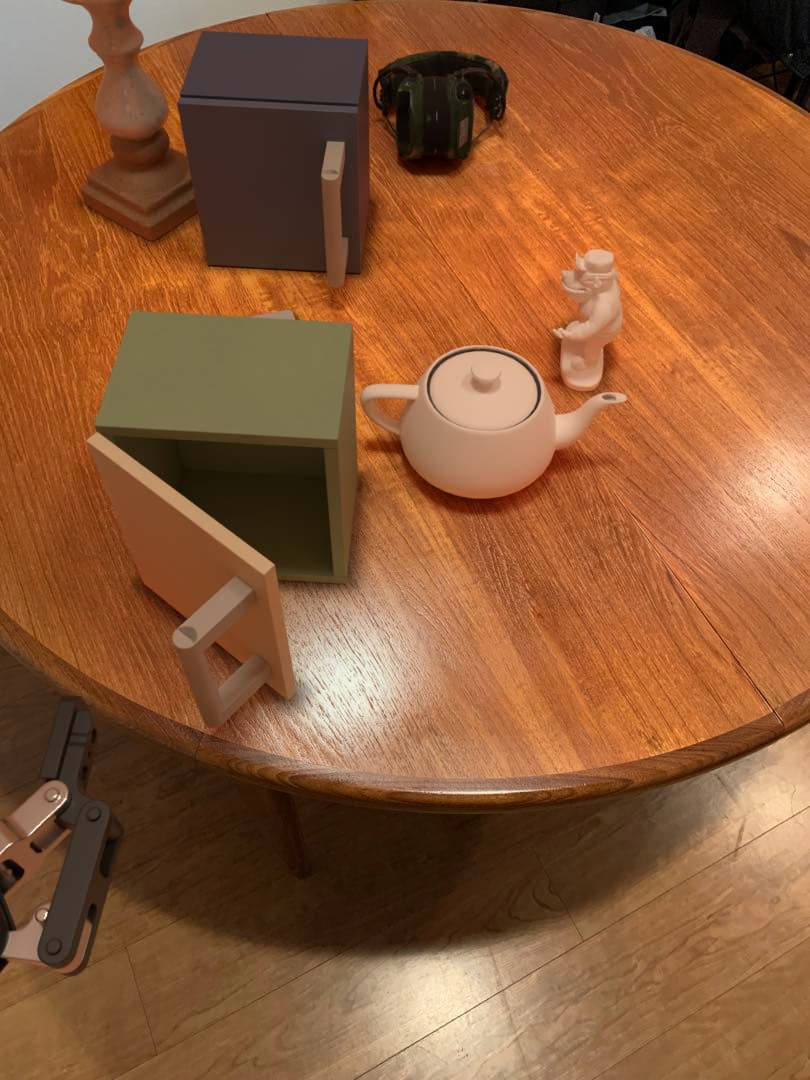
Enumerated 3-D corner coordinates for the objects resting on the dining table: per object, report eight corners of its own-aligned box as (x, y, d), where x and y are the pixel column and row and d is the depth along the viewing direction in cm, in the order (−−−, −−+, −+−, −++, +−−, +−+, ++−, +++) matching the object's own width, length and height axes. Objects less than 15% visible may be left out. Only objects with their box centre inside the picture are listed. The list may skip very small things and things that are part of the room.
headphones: (531, 133, 101) (512, 65, 115) (449, 40, 94) (439, -22, 108) (441, 215, 108) (433, 140, 122) (358, 133, 101) (360, 64, 114)
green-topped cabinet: (346, 584, 75) (337, 439, 60) (150, 572, 75) (93, 425, 60) (357, 477, 81) (353, 322, 66) (176, 467, 81) (131, 310, 67)
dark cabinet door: (355, 311, 93) (351, 151, 78) (197, 302, 93) (163, 141, 78) (361, 267, 97) (358, 106, 82) (209, 258, 97) (178, 96, 82)
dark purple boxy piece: (361, 266, 97) (358, 103, 82) (210, 258, 97) (179, 93, 82) (369, 201, 103) (368, 39, 88) (227, 194, 103) (201, 30, 89)
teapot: (353, 506, 79) (349, 422, 71) (369, 389, 87) (367, 300, 78) (610, 525, 79) (639, 443, 70) (602, 406, 87) (628, 319, 78)
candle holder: (152, 243, 98) (94, 10, 79) (81, 203, 102) (9, -29, 82) (223, 193, 103) (186, -37, 84) (154, 157, 107) (102, -72, 87)
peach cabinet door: (232, 758, 66) (190, 642, 52) (86, 632, 72) (11, 494, 57) (297, 691, 69) (275, 564, 55) (152, 575, 75) (97, 431, 60)
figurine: (545, 321, 93) (565, 219, 83) (610, 328, 93) (638, 227, 83) (541, 387, 88) (562, 287, 78) (610, 394, 87) (640, 295, 78)
